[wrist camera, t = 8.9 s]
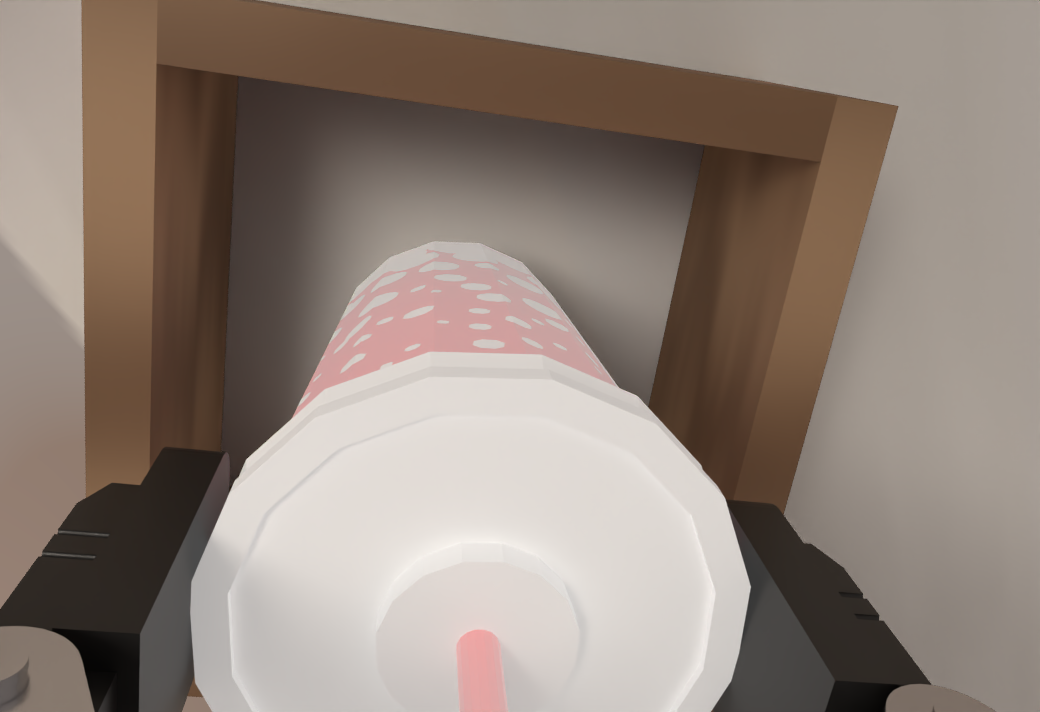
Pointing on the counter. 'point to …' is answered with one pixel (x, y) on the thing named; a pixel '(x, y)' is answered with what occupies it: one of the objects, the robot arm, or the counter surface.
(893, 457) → the counter surface
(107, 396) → the wooden square frame
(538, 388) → the beverage cup
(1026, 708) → the counter surface
